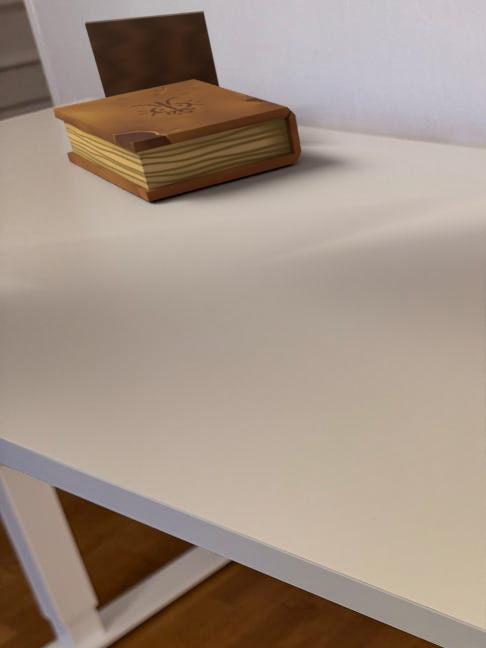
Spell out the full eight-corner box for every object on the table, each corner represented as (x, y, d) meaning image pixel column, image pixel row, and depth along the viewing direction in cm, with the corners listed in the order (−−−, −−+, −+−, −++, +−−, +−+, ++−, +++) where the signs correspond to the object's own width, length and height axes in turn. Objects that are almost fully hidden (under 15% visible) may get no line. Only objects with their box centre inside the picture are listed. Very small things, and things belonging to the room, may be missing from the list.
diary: (303, 162, 106) (293, 105, 102) (149, 203, 98) (132, 143, 94) (210, 127, 120) (199, 75, 116) (69, 160, 112) (51, 106, 108)
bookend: (115, 134, 120) (84, 23, 112) (118, 126, 123) (87, 18, 115) (226, 122, 121) (203, 12, 113) (226, 115, 124) (203, 7, 116)
